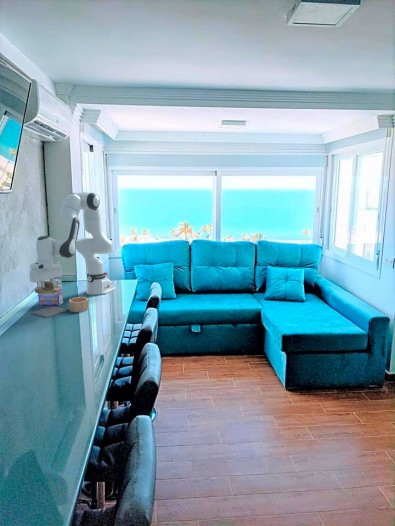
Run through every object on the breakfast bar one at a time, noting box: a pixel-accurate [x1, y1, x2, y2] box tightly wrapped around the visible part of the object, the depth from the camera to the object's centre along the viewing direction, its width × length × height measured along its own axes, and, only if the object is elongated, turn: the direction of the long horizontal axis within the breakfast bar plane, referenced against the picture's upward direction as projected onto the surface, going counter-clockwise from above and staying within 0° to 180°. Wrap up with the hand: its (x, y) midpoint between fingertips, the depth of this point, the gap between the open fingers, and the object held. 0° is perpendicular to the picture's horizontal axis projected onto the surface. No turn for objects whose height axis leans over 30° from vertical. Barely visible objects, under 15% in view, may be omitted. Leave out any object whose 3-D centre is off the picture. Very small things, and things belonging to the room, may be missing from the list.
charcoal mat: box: [30, 305, 69, 319], centre depth 221 cm, size 15×15×1 cm
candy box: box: [36, 278, 64, 307], centre depth 234 cm, size 14×6×16 cm, turn 84°
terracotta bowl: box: [68, 296, 89, 313], centre depth 226 cm, size 11×11×6 cm
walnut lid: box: [34, 282, 60, 294], centre depth 217 cm, size 14×14×5 cm
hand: (47, 286), depth 217 cm, fingers closed on walnut lid, 3 cm apart
